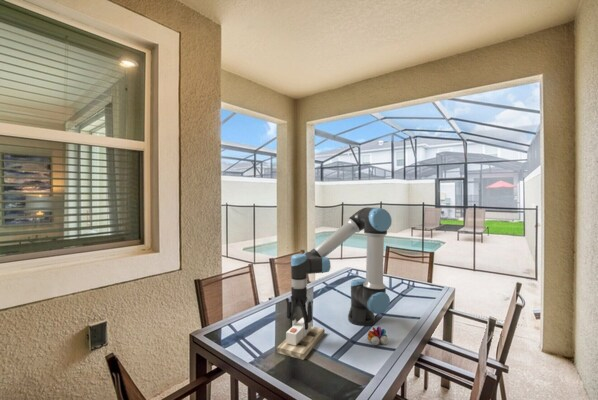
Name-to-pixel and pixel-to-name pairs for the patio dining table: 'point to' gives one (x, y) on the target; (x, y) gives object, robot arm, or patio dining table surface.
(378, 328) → the rainbow stacked discs
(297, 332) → the power strip
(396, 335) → the patio dining table surface
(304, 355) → the square hole board
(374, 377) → the patio dining table surface
